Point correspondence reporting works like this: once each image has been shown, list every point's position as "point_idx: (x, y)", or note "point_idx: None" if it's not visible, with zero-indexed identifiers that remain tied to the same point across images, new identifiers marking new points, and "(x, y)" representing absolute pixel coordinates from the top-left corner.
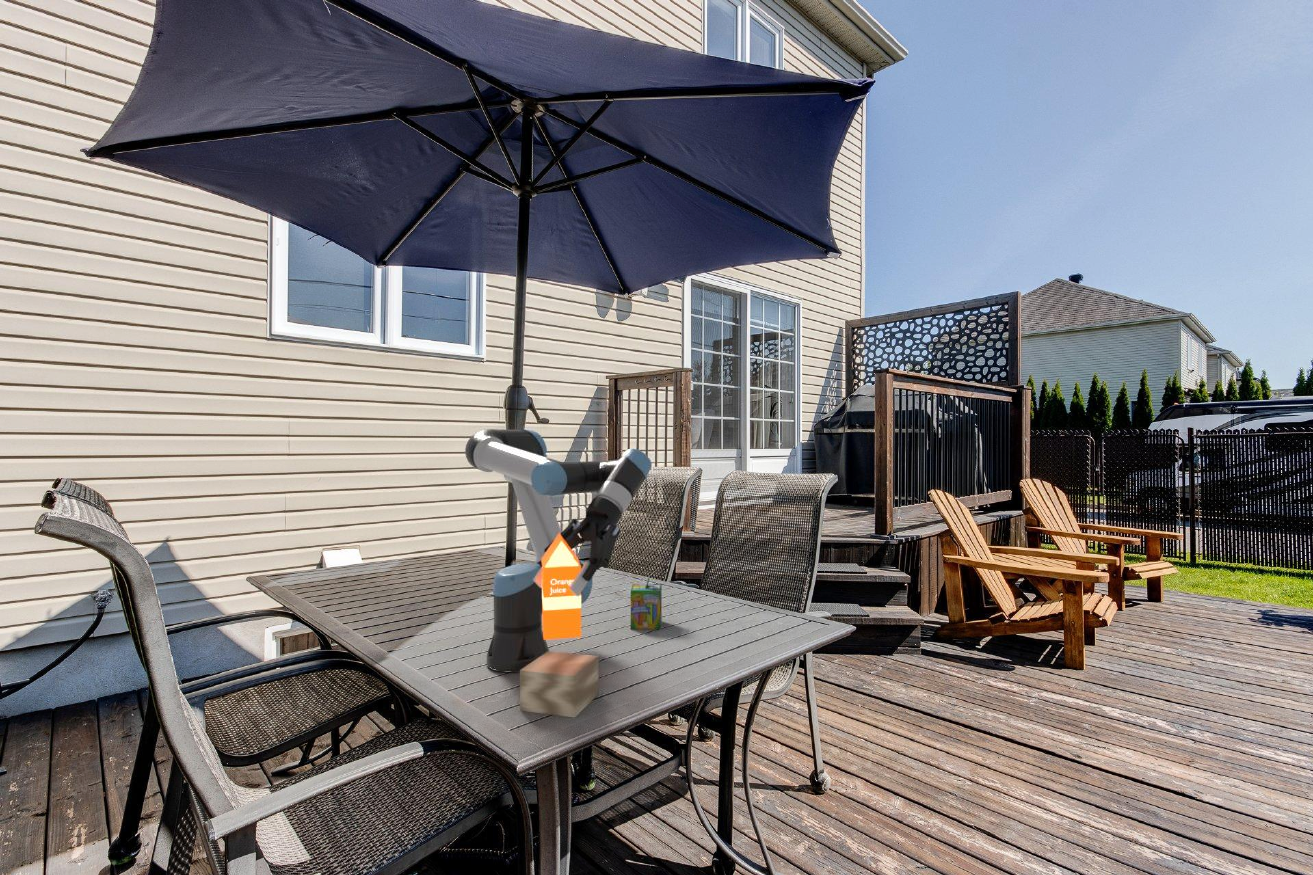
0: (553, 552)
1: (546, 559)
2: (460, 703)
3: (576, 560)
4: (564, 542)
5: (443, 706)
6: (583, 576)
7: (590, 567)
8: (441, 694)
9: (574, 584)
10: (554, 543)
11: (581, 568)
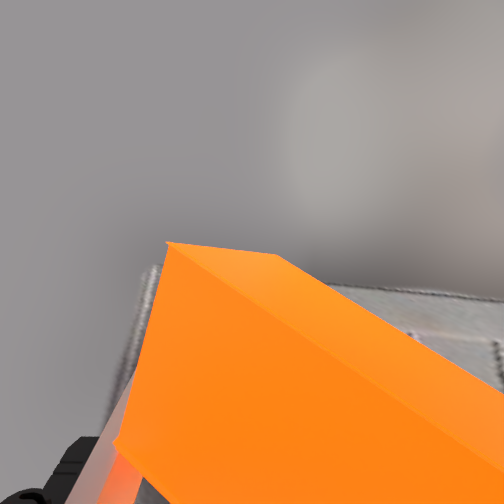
0: (239, 254)
1: (330, 296)
2: (413, 322)
3: (149, 436)
4: (308, 414)
5: (421, 296)
6: (97, 437)
7: (51, 498)
8: (481, 322)
9: (131, 380)
10: (441, 394)
11: (117, 451)
